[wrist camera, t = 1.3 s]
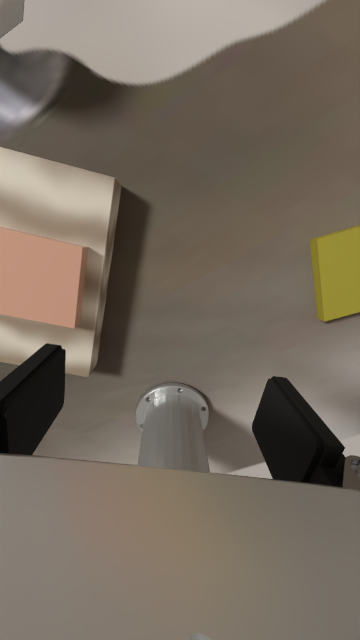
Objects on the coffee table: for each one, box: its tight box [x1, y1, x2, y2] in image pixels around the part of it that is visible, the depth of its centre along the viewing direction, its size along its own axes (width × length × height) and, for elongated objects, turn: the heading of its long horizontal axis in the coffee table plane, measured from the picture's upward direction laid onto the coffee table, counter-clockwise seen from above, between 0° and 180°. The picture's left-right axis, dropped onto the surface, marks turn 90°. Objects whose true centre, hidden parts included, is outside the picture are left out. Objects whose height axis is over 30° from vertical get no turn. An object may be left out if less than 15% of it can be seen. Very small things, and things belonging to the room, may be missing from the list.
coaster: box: [0, 226, 88, 329], centre depth 28 cm, size 10×10×2 cm
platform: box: [0, 147, 122, 377], centre depth 31 cm, size 26×16×4 cm, turn 167°
